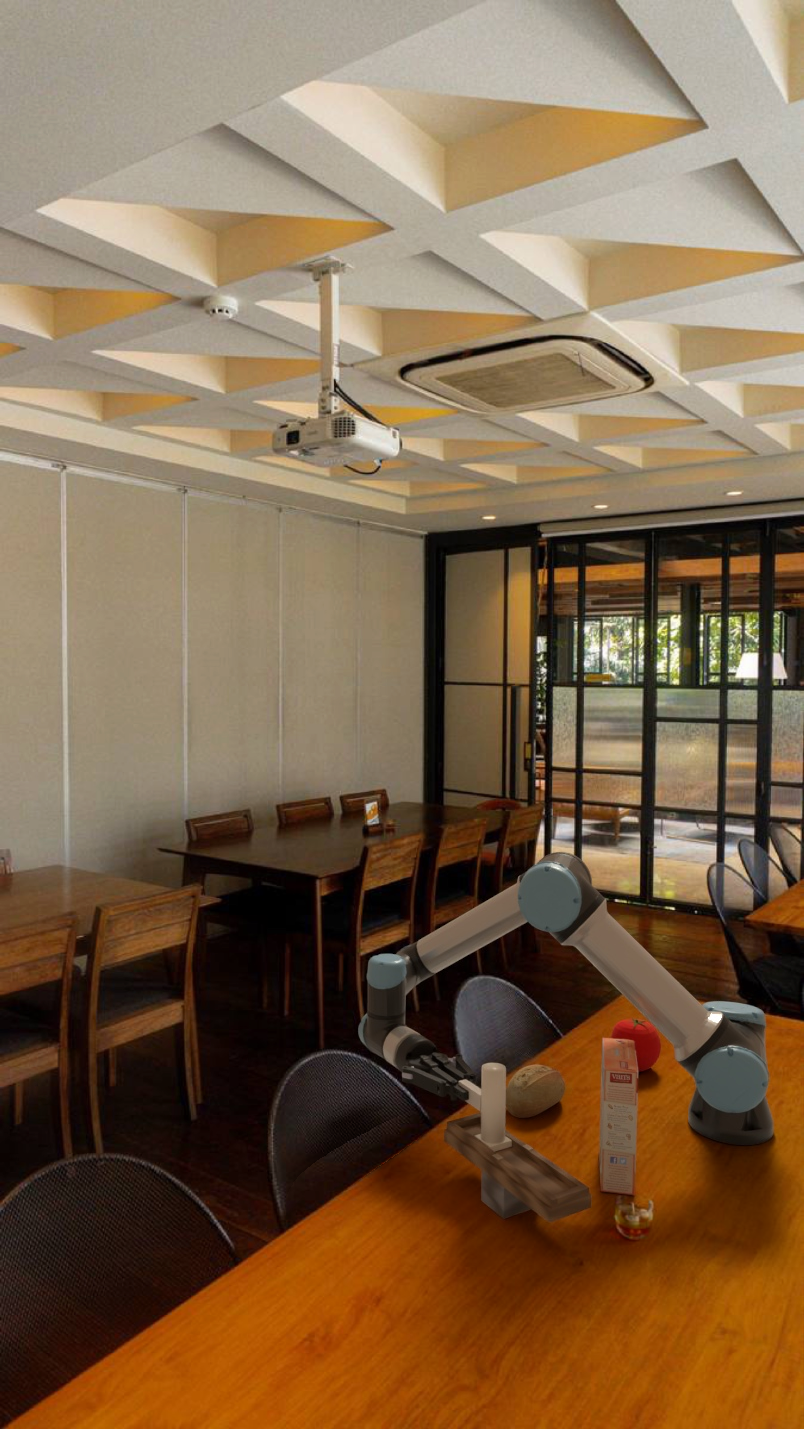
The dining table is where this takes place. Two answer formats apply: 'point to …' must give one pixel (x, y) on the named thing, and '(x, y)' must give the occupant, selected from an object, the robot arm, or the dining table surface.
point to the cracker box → (618, 1116)
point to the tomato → (640, 1040)
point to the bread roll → (534, 1090)
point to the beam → (517, 1175)
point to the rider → (493, 1107)
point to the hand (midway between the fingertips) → (483, 1102)
